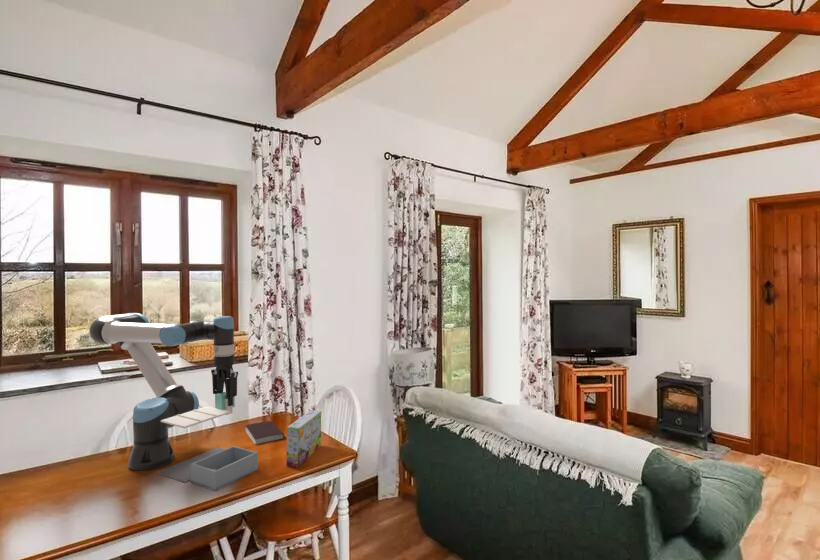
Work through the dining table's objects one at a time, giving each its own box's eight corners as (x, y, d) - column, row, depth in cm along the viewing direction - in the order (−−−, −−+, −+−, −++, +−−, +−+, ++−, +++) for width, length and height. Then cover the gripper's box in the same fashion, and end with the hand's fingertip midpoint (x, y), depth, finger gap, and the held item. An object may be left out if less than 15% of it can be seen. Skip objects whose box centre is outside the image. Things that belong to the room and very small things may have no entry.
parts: (201, 478, 154) (200, 472, 154) (233, 463, 166) (233, 458, 166) (218, 484, 149) (218, 478, 149) (250, 468, 161) (250, 463, 161)
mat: (156, 473, 160) (156, 472, 160) (218, 447, 182) (218, 447, 182) (184, 483, 152) (184, 482, 152) (245, 455, 175) (245, 454, 175)
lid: (160, 421, 160) (160, 405, 160) (219, 403, 182) (219, 389, 181) (184, 428, 153) (184, 411, 153) (243, 408, 175) (242, 393, 175)
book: (272, 426, 209) (272, 419, 208) (284, 439, 192) (284, 432, 192) (244, 432, 202) (244, 425, 202) (254, 446, 186) (254, 438, 185)
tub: (190, 482, 152) (190, 463, 152) (234, 462, 168) (233, 445, 168) (215, 491, 146) (215, 472, 146) (257, 469, 162) (257, 452, 162)
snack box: (299, 468, 164) (299, 428, 163) (285, 466, 165) (285, 426, 164) (322, 445, 184) (321, 410, 184) (309, 444, 185) (309, 409, 185)
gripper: (202, 354, 176) (203, 412, 176) (230, 358, 168) (231, 419, 168) (218, 351, 182) (219, 407, 183) (246, 355, 174) (247, 413, 175)
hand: (225, 412), depth 176 cm, fingers closed on lid, 4 cm apart
